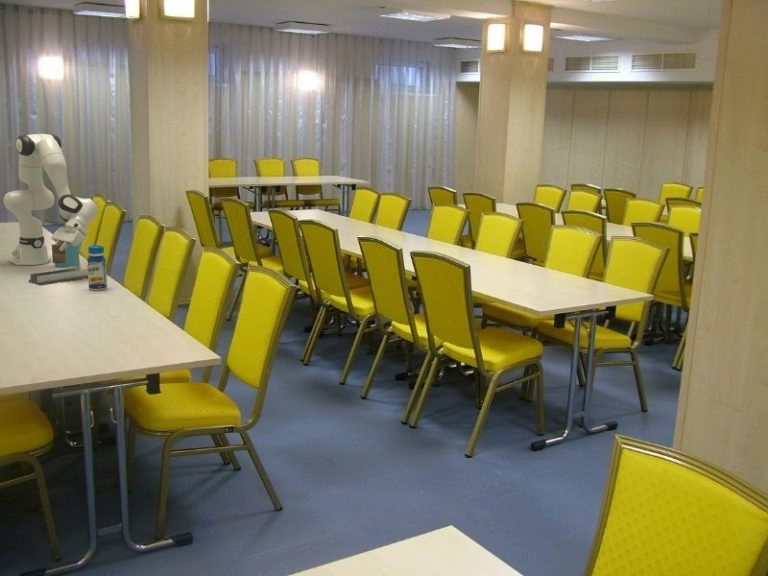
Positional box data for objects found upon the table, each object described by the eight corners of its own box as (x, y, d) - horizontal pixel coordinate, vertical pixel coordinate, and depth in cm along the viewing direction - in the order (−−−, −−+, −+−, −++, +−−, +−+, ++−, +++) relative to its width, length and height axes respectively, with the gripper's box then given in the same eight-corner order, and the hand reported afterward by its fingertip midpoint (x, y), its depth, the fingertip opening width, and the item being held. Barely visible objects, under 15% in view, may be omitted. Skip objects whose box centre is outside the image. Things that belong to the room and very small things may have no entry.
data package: (79, 265, 440) (78, 242, 438) (79, 266, 436) (78, 244, 434) (55, 266, 436) (53, 243, 433) (55, 267, 431) (54, 245, 429)
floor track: (28, 281, 397) (28, 273, 396) (78, 274, 417) (78, 266, 416) (40, 285, 390) (39, 277, 389) (90, 277, 410) (90, 269, 409)
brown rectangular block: (52, 262, 401) (51, 244, 399) (62, 261, 404) (61, 243, 402) (56, 263, 399) (54, 245, 397) (65, 262, 402) (64, 244, 401)
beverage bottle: (111, 288, 388) (109, 246, 384) (97, 291, 381) (95, 248, 376) (98, 286, 392) (96, 244, 388) (84, 289, 385) (82, 246, 380)
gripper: (58, 221, 409) (41, 243, 404) (81, 225, 397) (63, 248, 391) (67, 229, 414) (50, 251, 408) (90, 234, 401) (72, 256, 396)
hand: (57, 249), depth 400 cm, fingers closed on brown rectangular block, 3 cm apart
